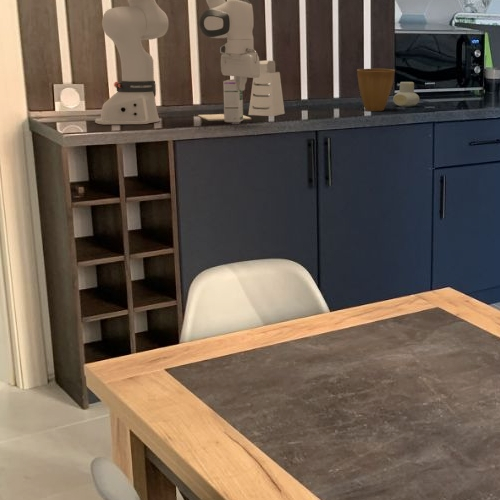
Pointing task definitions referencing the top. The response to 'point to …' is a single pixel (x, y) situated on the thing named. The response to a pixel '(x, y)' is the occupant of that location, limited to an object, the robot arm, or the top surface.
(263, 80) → the grater
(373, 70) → the plant pot
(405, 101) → the pipe tee fitting
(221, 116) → the mat
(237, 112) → the syrup box
